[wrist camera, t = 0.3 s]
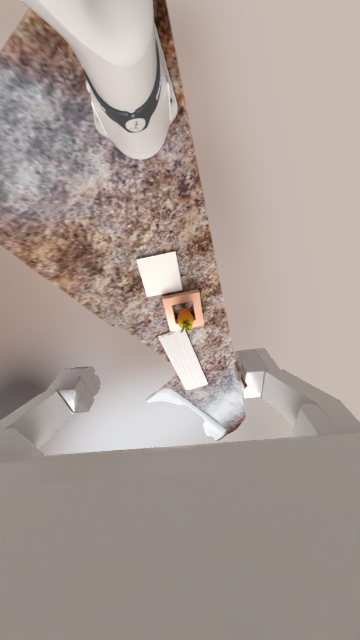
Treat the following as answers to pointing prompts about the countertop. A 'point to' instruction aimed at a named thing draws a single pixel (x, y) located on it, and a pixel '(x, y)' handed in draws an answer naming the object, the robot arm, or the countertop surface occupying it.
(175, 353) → the baseboard molding
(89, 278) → the countertop surface
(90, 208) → the countertop surface
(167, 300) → the holder ring
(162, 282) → the plate
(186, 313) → the carrot
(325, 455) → the robot arm
